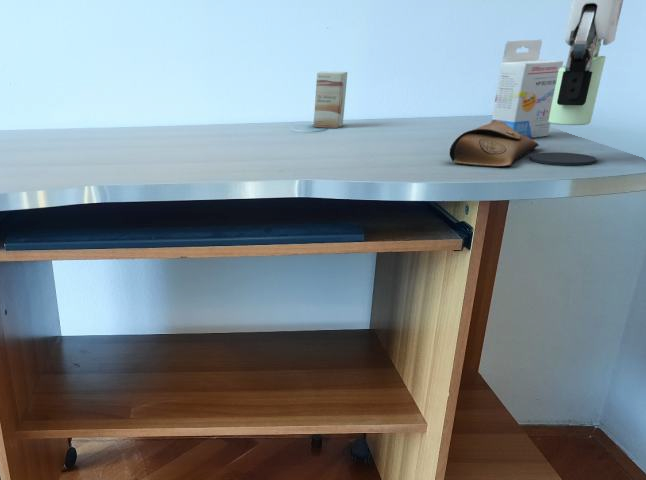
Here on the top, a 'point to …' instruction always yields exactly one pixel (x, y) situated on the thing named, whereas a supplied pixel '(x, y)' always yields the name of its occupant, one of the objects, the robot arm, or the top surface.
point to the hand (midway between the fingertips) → (573, 101)
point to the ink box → (525, 89)
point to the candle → (577, 112)
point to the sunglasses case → (490, 146)
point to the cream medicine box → (330, 99)
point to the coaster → (563, 158)
